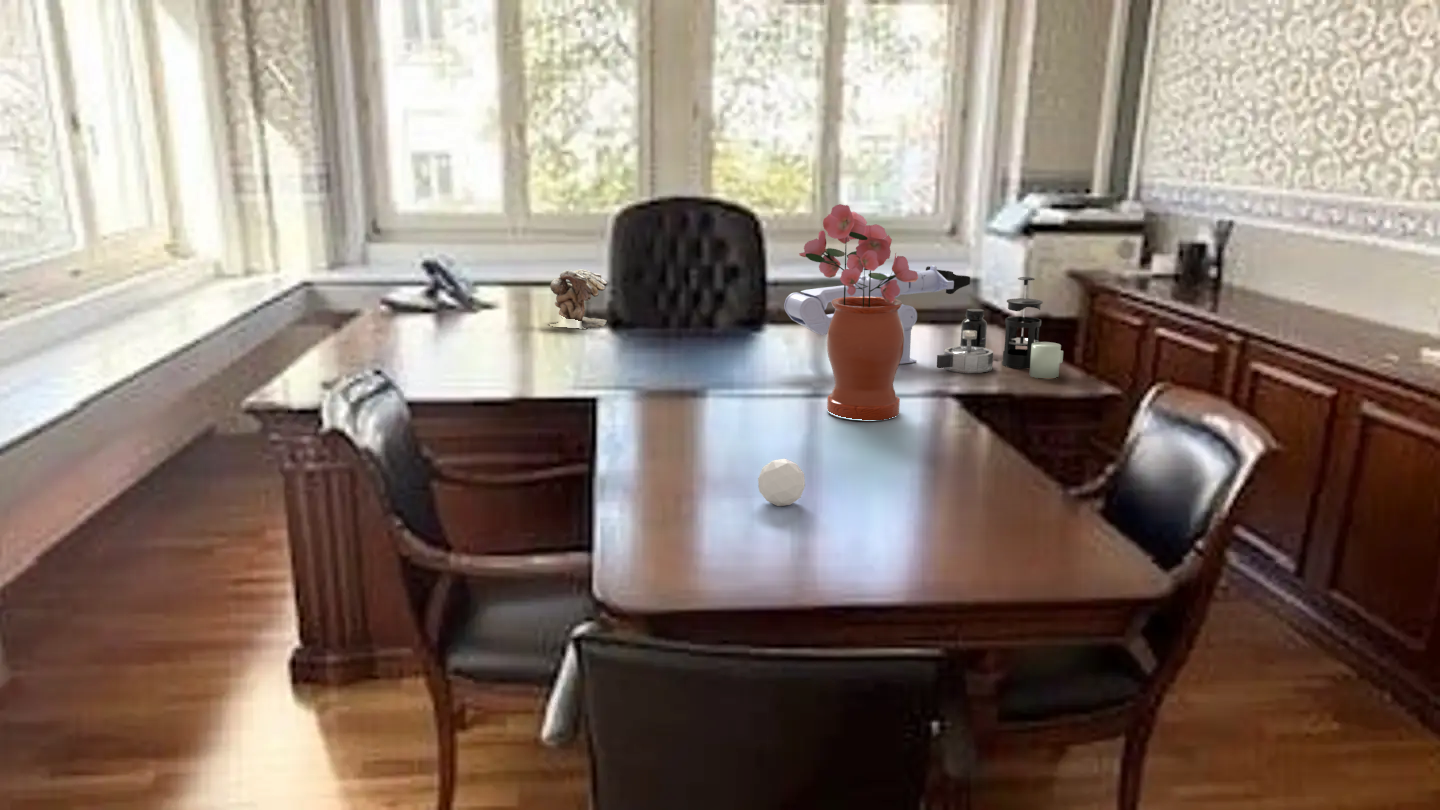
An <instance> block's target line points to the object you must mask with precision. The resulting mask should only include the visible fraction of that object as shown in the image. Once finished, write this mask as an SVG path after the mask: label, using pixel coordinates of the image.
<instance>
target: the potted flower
mask: <svg viewBox="0 0 1440 810" xmlns="http://www.w3.org/2000/svg"><path fill="white" fill-rule="evenodd" d="M867 224H868V222H867V220H866V218H865V217H864V216H863V215H861V214H859V213H857V212H855V211H851V209H850V205H848V204H845V205H844V204H836V205H834V206H833V207H832V208H831V211H830V213H829V214H827V216H825V217H824V218H823V221H822V227H823V229H824V230H820V231H819V232H818V236H817V238H814V239H812V240H808V241H807V242H806V243H805V244H804V246H803V250H804V252H800V253H798V255H799V256H800V257H802V258H807V259H808V260H810V261H812V262H815V263H819V265H818V269H819V272H820V273H822V274H823V276H824V277H826V278H829V279H831V278H834V277H836V275H837V273H838V271H839V270H840V269H841V270H842V271H841V275H840V277H839V280H840V283H842V284H843V285H844V297H841V298H836V299H833V300H832V301H831V302H830V303H831V305H832V308H834V311H833V314H834V315H833V317H832V320H831V322H830V325H829V328H828V332H827V334H826V351H827V357H828V360H829V364H830V367H831V370H832V374H833V380H834V387H833V389H832V392H831V393H830V394H829V395H828V396H827V401H826V403H827V404H826V406H827V407H826V408H827V409H828V411H829V412H831V413H833V414H835V415H838V416H841V417H846V418H852V419H862V420H882V421H885V420H884V419H888V420H890V419H889V418H892V417H895V416H897V415H898V414H899V415H900V406H901V405H900V403H901V402H900V401H901V400H900V397H899V396H897V394H896V389H895V388H894V383H895V382H894V381H895V379H896V375H897V372H898V369H899V366H900V365H901V364H900V361H901V358H902V354H903V349H904V329H903V326H902V323H901V320H900V317H899V314H898V309H900V307H901V306H902V304H903V302H902V301H901V300H900V299H897V298H895V296H898V295H899V293H900V288H899V286H898V284H897V280H891V279H893V278H895V277H896V278H897V279H898V280H900V281H903V282H915V281H916V280H917V279H918V274H917V272H916V271H915V270H911V269H910V266H909V262H908V259H907V257H905V256H903V255H897V252H895V253H894V254H895V255H894V259H893V260H894V261H893V263H892V266H891V273H890V274H891V275H892V273H893V274H895V275H892V276H891V275H890V277H887V276H886V275H884V274H880V273H881V272H874V271H876V270H877V269H878V268H879V267H880V266H883V265H884V264H885V263H886V261H887V260H888V259H890V258H891V257H890V256H891V246H892V245H891V244H892V243H893V239H892V238H891V237H890V235H889V234H887V232H886V230H885V228H884V227H883V226H882V225H880V224H872V225H870V224H869V225H867ZM826 232H827V236H828V237H829V238H833V240H834V239H837V240H838V241H839V242H840V243H842V244H844V245H845V246H844V247H845V248H844V249H845V250H844V251H843V250H840V249H837V248H832V247H828V248H826V247H827V238H826ZM851 240H858V242H857V244H858V245H857V246H856V247H855V251H851V252H850V253H847V244H848V243H849V242H850V241H851ZM841 257H844V268H842V267H841V265H842V264H841V262H840V261H839V259H837V258H841ZM865 271H869V273H868V277H870V279H869V296H864V289H863V288H865V287H863V288H861V287H859V286H858V285H857V284H856V283H857V282H858V280H859V278H860V276H862V275H861V274H862V273H863V276H864V281H865V276H866V275H865V274H866V273H865ZM871 278H873V279H877V280H880V281H882V280H883V281H884V280H885V279H888V280H887V281H885V282H884V283H886V282H887V283H886V284H885V285H884V286H883V287H882V288H881V287H879V286H881V285H883V284H884V283H882V282H883V281H882V282H881V283H882V284H881V283H880V284H879V285H878V286H877V287H876V288H881V293H882V297H875V296H870V292H871V291H873V290H874V289H876V288H874V289H872V290H870V283H871ZM854 284H855V285H857V286H858V287H859V288H855V286H854ZM858 284H860V283H858ZM860 285H863V284H860ZM846 286H848V287H849V288H848V290H847V292H848V294H850V295H851V296H850V297H845V291H846ZM863 286H866V285H863ZM874 286H875V285H874ZM866 287H868V286H866ZM856 289H862V290H863V296H852V295H853V294H854V293H855V292H856ZM898 297H899V296H898ZM827 409H826V410H827ZM899 415H898V416H899ZM898 416H897V417H898ZM895 418H896V417H895ZM892 419H893V418H892Z"/></svg>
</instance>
